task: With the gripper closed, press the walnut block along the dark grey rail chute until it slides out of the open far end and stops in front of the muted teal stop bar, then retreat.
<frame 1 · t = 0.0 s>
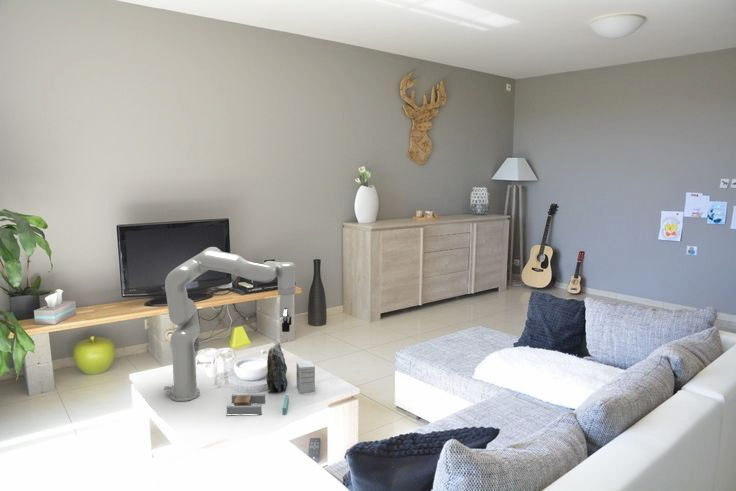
hand: (286, 328, 228), 31 cm above the table, fingers open, 9 cm apart
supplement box: (305, 390, 239), on the table
walnut block: (242, 408, 219), on the table
stone block: (278, 385, 243), on the table
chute: (246, 408, 220), on the table
stop bar: (285, 408, 221), on the table
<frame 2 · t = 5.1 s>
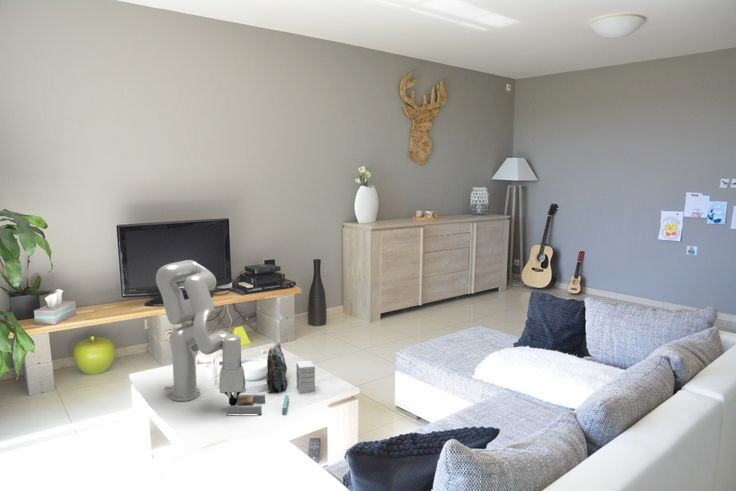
hand: (233, 405, 219), 1 cm above the table, fingers closed
walnut block: (245, 408, 220), on the table, touching gripper
everything else where it was.
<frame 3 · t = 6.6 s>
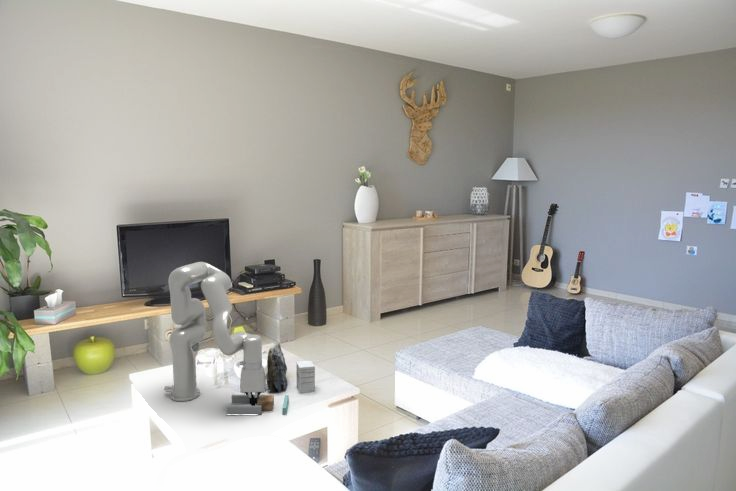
hand: (253, 405, 220), 1 cm above the table, fingers closed
walnut block: (266, 408, 220), on the table, touching gripper
everything else where it was.
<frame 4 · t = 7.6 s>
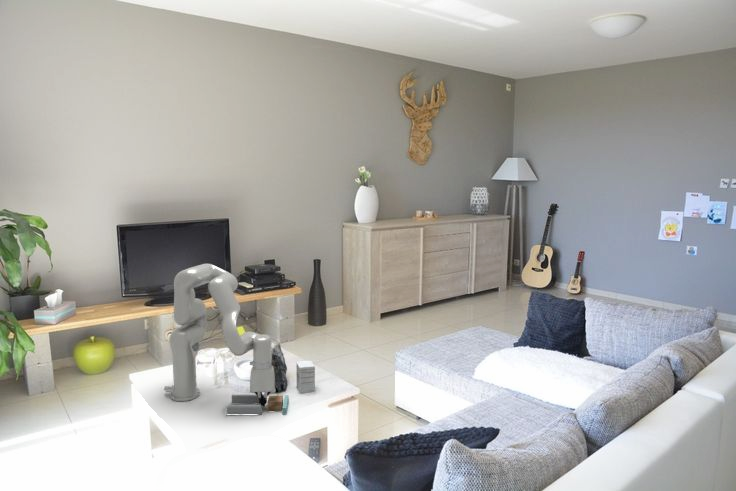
hand: (263, 405, 220), 1 cm above the table, fingers closed
walnut block: (275, 408, 220), on the table, touching gripper
everything else where it was.
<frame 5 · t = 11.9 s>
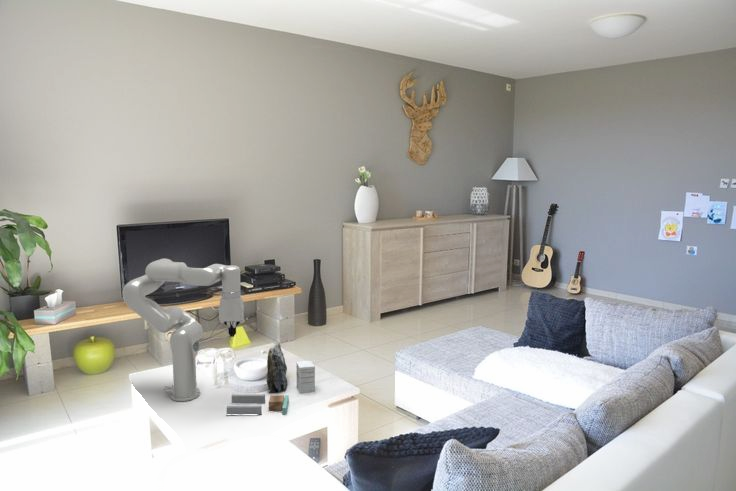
hand: (232, 335, 223), 29 cm above the table, fingers closed
walnut block: (276, 408, 221), on the table
everything else where it was.
at the end: walnut block inside the target area (0.7 cm from its centre), on the table; walnut block tilted 0°; walnut block moved 14.2 cm from its start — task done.
